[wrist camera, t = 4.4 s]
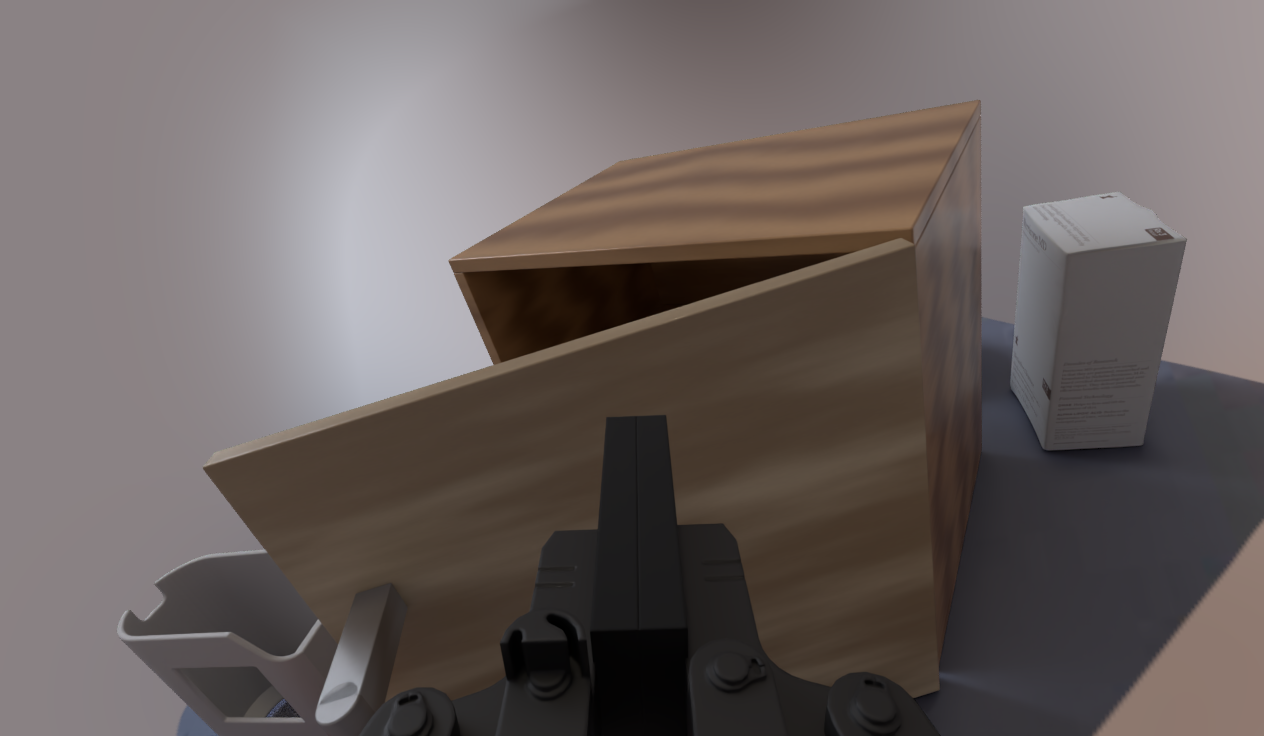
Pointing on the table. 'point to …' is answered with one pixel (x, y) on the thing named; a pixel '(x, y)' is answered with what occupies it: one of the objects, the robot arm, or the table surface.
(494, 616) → the cupboard door
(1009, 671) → the table surface
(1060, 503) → the table surface
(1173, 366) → the table surface
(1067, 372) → the cosmetic box
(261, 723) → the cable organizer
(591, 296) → the cupboard
